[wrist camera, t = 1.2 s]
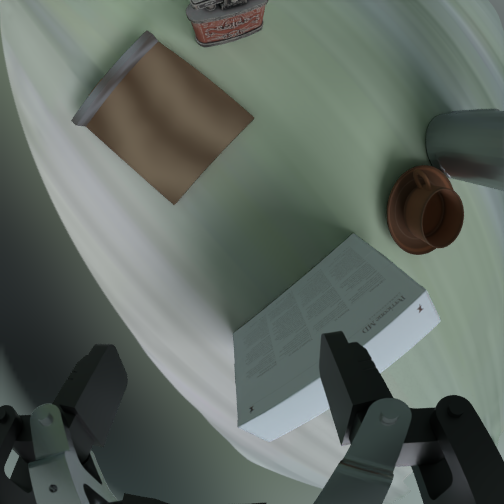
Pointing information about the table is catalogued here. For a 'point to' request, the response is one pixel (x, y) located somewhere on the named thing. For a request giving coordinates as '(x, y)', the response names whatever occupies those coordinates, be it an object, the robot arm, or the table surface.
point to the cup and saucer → (424, 211)
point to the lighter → (225, 20)
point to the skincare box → (324, 321)
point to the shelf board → (162, 116)
